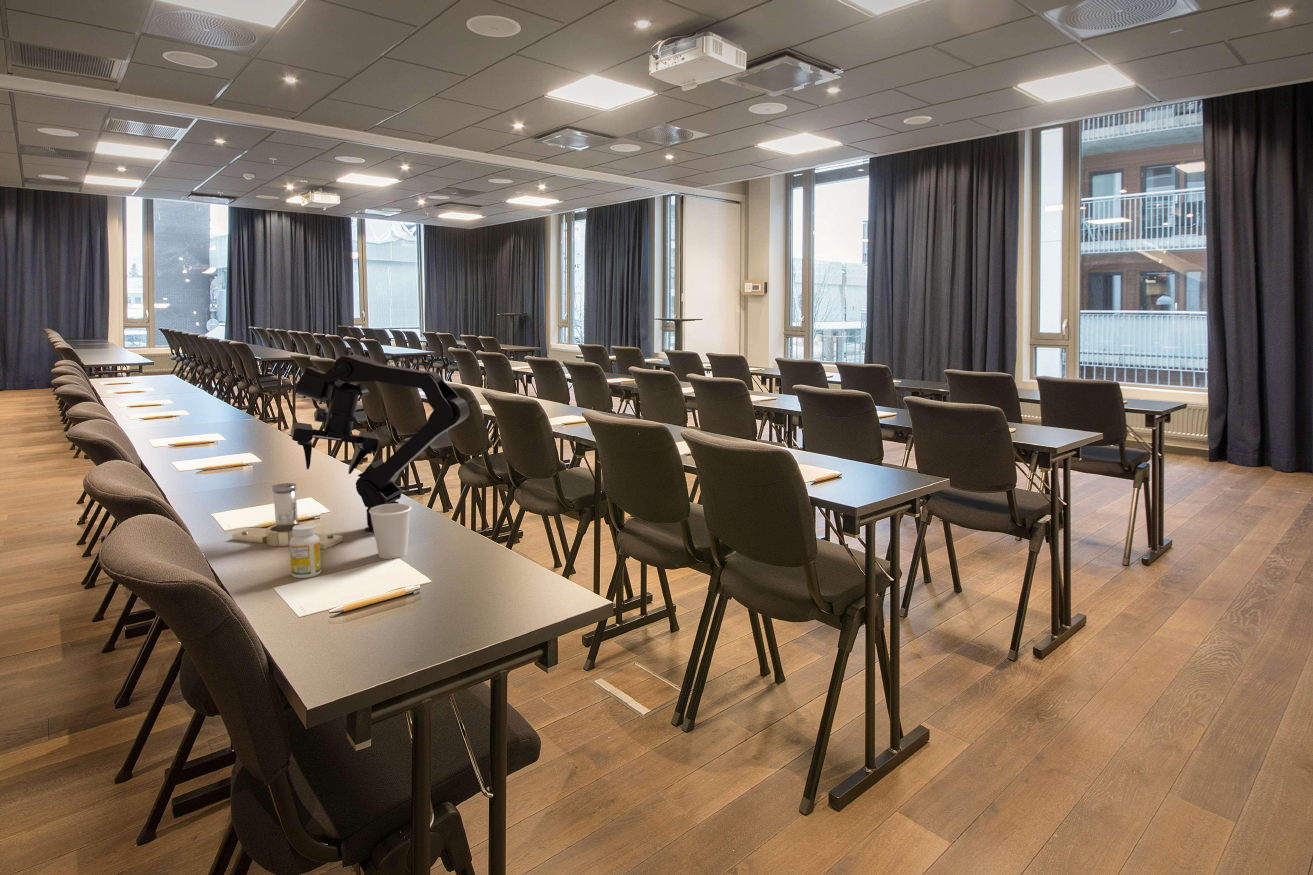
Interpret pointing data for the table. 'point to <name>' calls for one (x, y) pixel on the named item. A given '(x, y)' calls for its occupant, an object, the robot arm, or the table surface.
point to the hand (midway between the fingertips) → (328, 471)
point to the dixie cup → (391, 529)
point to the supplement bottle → (305, 551)
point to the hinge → (281, 537)
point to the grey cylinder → (285, 506)
